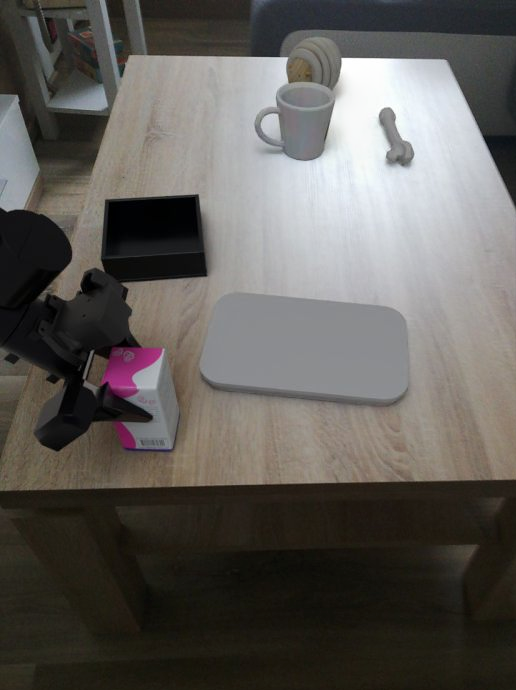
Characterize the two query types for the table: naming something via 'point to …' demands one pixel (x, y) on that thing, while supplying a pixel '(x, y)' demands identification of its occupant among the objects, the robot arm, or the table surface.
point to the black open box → (153, 238)
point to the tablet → (306, 349)
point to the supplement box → (144, 396)
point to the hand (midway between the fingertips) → (155, 396)
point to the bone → (395, 139)
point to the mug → (300, 119)
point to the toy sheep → (315, 62)
